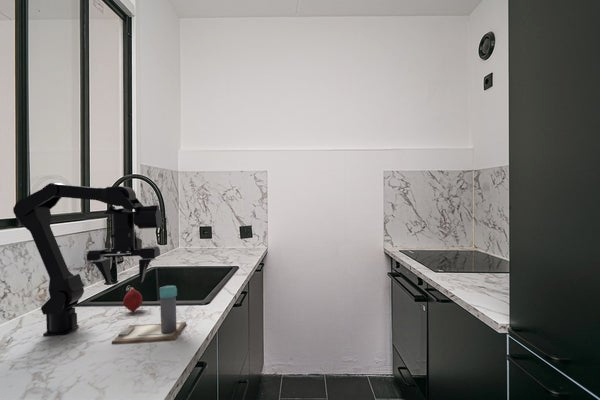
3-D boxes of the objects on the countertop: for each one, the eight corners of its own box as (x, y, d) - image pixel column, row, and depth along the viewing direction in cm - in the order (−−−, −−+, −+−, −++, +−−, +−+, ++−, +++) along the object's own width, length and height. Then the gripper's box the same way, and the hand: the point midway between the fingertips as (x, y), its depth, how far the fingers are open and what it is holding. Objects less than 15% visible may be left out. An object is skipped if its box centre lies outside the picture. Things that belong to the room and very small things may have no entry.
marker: (161, 334, 95) (160, 289, 95) (160, 330, 99) (159, 286, 99) (178, 331, 97) (177, 287, 97) (176, 327, 101) (175, 284, 101)
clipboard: (111, 343, 92) (111, 339, 92) (130, 327, 104) (129, 323, 104) (175, 340, 93) (175, 335, 93) (186, 324, 105) (186, 320, 105)
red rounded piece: (146, 309, 121) (145, 286, 121) (132, 315, 115) (131, 290, 115) (134, 308, 123) (133, 285, 123) (119, 313, 118) (119, 289, 118)
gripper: (164, 226, 112) (166, 275, 112) (103, 228, 111) (104, 278, 111) (153, 229, 101) (154, 283, 101) (84, 231, 100) (86, 287, 100)
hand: (125, 283), depth 104 cm, fingers open, 9 cm apart
